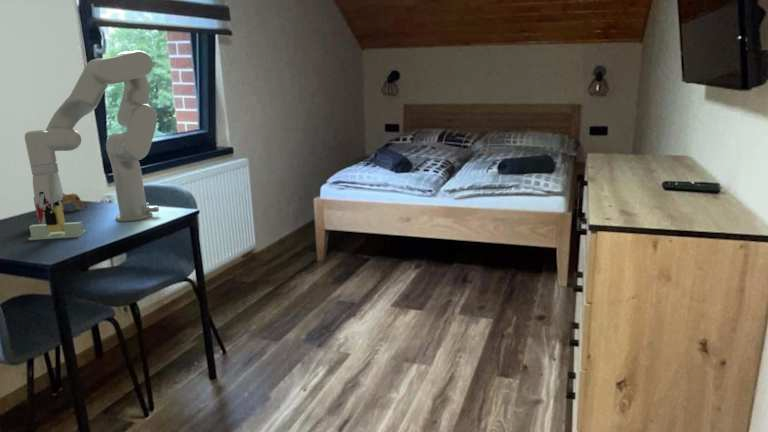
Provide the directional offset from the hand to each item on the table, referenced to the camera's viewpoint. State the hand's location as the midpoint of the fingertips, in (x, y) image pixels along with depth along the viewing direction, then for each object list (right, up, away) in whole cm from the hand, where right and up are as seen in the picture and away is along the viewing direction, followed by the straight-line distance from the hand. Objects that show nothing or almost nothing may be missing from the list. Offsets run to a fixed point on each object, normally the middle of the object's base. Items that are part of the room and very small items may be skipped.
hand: (55, 222), depth 188 cm
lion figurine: (-16, +4, +36) cm, 40 cm away
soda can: (-12, -1, +17) cm, 20 cm away
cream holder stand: (0, -5, +1) cm, 5 cm away
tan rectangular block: (0, -3, +1) cm, 3 cm away
